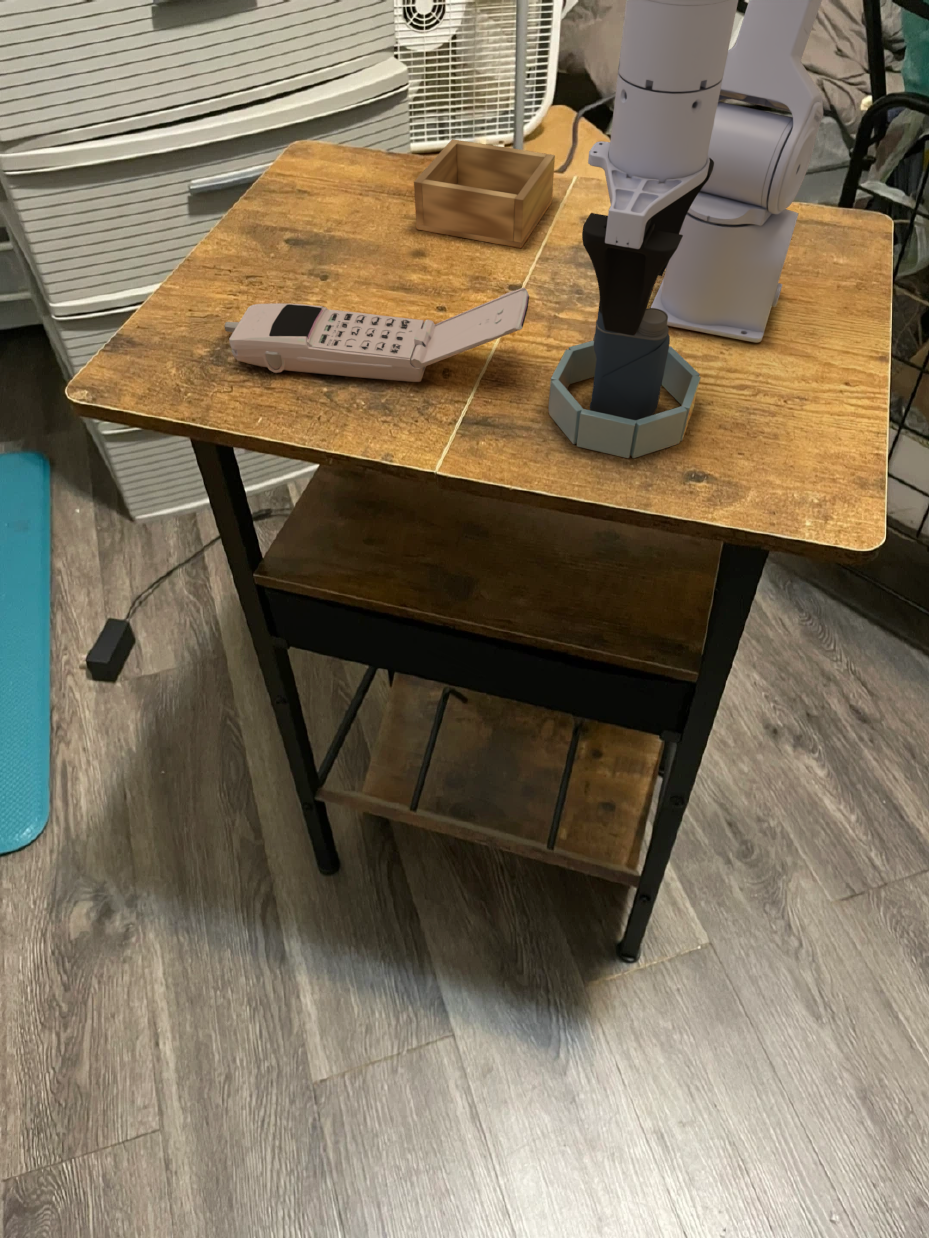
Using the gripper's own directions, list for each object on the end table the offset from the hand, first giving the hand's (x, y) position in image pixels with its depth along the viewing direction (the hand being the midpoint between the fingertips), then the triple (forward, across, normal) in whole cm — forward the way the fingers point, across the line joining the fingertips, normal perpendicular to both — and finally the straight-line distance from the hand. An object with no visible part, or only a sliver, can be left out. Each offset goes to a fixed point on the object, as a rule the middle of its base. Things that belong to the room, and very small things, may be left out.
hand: (635, 299), depth 58 cm
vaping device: (+9, 0, 0) cm, 9 cm away
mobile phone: (+9, +1, -20) cm, 22 cm away
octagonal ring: (+9, 0, 0) cm, 9 cm away
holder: (+9, -25, -20) cm, 33 cm away
